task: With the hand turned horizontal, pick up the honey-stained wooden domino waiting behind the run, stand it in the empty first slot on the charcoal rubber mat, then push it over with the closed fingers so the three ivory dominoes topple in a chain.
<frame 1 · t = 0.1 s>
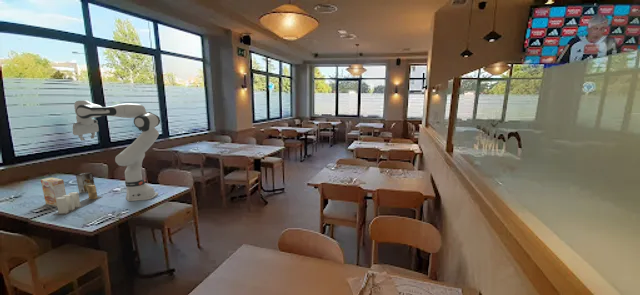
hand: (87, 139, 206), 48 cm above the table, tool pointing down, fingers open, 8 cm apart
coffeecake box: (57, 204, 203), on the table
tile 4: (63, 212, 186), point 1 cm above the table, touching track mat
tile 2: (76, 206, 196), point 1 cm above the table, touching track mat
coffee box: (87, 191, 228), on the table
wooden block: (93, 198, 211), point 1 cm above the table, touching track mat
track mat: (79, 205, 199), on the table
tile 3: (70, 209, 191), point 1 cm above the table, touching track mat
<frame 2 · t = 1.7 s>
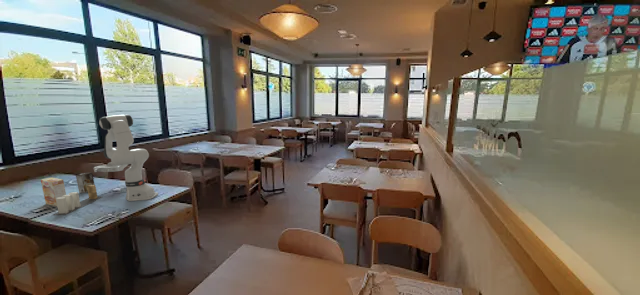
hand: (101, 171, 219), 20 cm above the table, tool horizontal, fingers open, 8 cm apart
nothing on the table moved.
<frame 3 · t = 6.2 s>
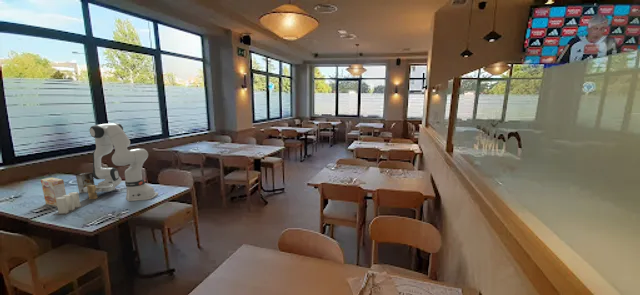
hand: (91, 191, 209), 7 cm above the table, tool horizontal, fingers closed on wooden block, 5 cm apart
wooden block: (93, 198, 211), point 1 cm above the table, touching gripper, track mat
everything else where it was.
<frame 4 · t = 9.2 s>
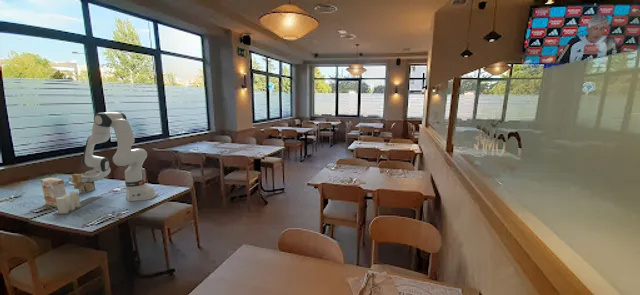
hand: (76, 181, 196), 19 cm above the table, tool horizontal, fingers closed on wooden block, 5 cm apart
wooden block: (79, 188, 198), point 13 cm above the table, touching gripper
everything else where it was.
when the fingers open (8 cm above the table, at t = 12.3 s): wooden block drops 1 cm, resting on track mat.
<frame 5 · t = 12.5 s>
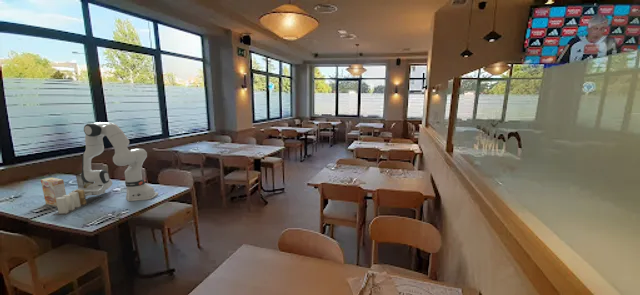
hand: (79, 195, 198), 8 cm above the table, tool horizontal, fingers open, 7 cm apart
wooden block: (81, 204, 201), point 1 cm above the table, touching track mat
everything else where it was.
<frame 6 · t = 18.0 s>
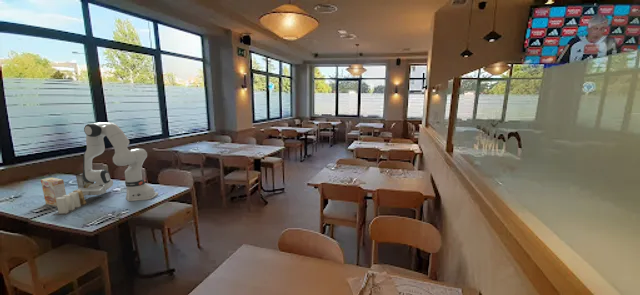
hand: (80, 195, 199), 7 cm above the table, tool horizontal, fingers closed
wooden block: (81, 203, 201), point 1 cm above the table, tilted 9°, touching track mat
everything else where it was.
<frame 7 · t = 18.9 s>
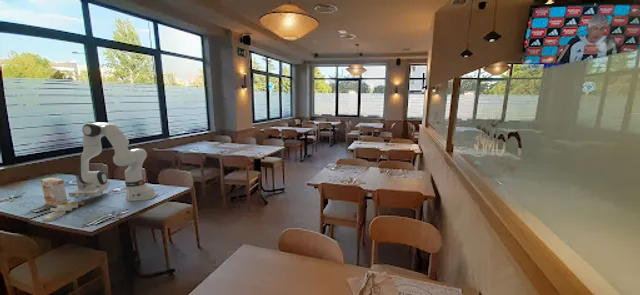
hand: (76, 197, 196), 8 cm above the table, tool horizontal, fingers closed
tile 4: (61, 212, 184), point 2 cm above the table, tilted 90°, touching tile 3, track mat
tile 2: (74, 206, 194), point 2 cm above the table, tilted 67°, touching wooden block, tile 3, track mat
wooden block: (80, 203, 199), point 2 cm above the table, tilted 67°, touching tile 2
tile 3: (68, 209, 189), point 2 cm above the table, tilted 67°, touching tile 2, tile 4, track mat
everything else where it was.
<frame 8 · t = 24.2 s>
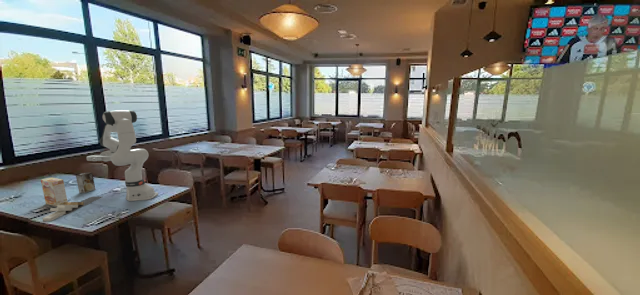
hand: (93, 160, 214), 30 cm above the table, tool horizontal, fingers closed
nothing on the table moved.
at the end: tile 4 tilted 91°; wooden block tilted 67°; wooden block inside the target area (0.8 cm from its centre), point 1.5 cm above the table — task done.
